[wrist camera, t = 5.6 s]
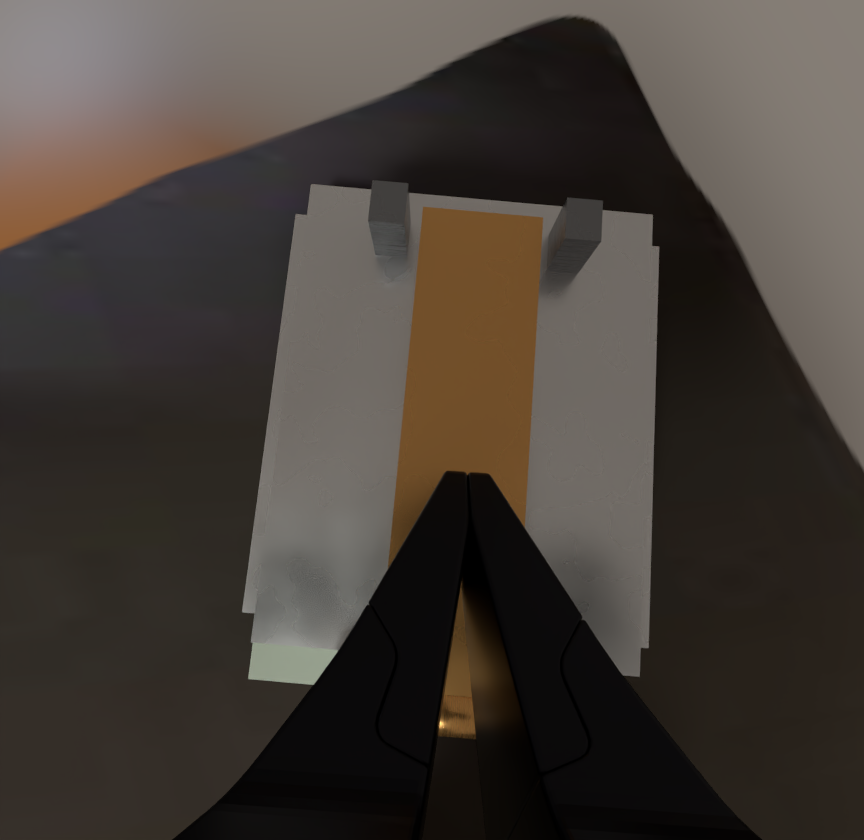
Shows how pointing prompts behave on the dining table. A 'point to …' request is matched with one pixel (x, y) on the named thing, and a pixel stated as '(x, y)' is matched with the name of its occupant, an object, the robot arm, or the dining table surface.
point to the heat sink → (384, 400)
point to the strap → (468, 383)
